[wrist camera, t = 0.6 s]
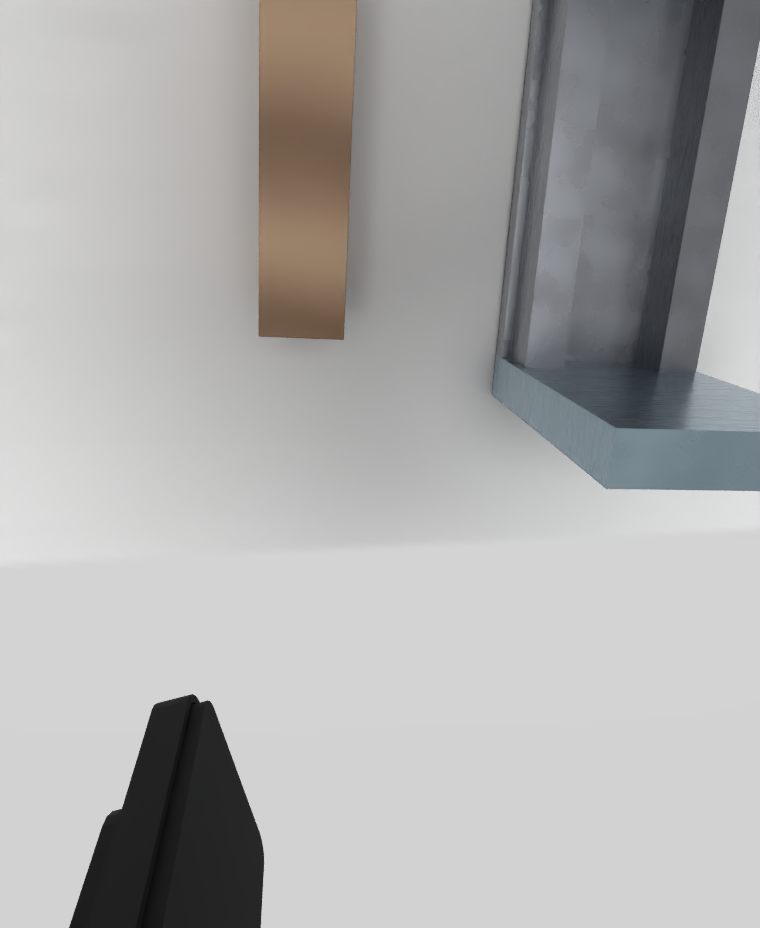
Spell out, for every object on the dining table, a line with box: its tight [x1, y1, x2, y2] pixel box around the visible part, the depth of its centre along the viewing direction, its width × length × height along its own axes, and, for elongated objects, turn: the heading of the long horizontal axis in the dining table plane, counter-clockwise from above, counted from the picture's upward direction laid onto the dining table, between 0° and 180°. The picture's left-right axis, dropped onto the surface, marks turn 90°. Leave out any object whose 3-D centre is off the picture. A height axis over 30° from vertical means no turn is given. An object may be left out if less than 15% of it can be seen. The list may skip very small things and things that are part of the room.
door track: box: [492, 0, 760, 491], centre depth 26 cm, size 22×9×14 cm, turn 177°
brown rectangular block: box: [259, 0, 357, 340], centre depth 27 cm, size 14×3×9 cm, turn 177°
